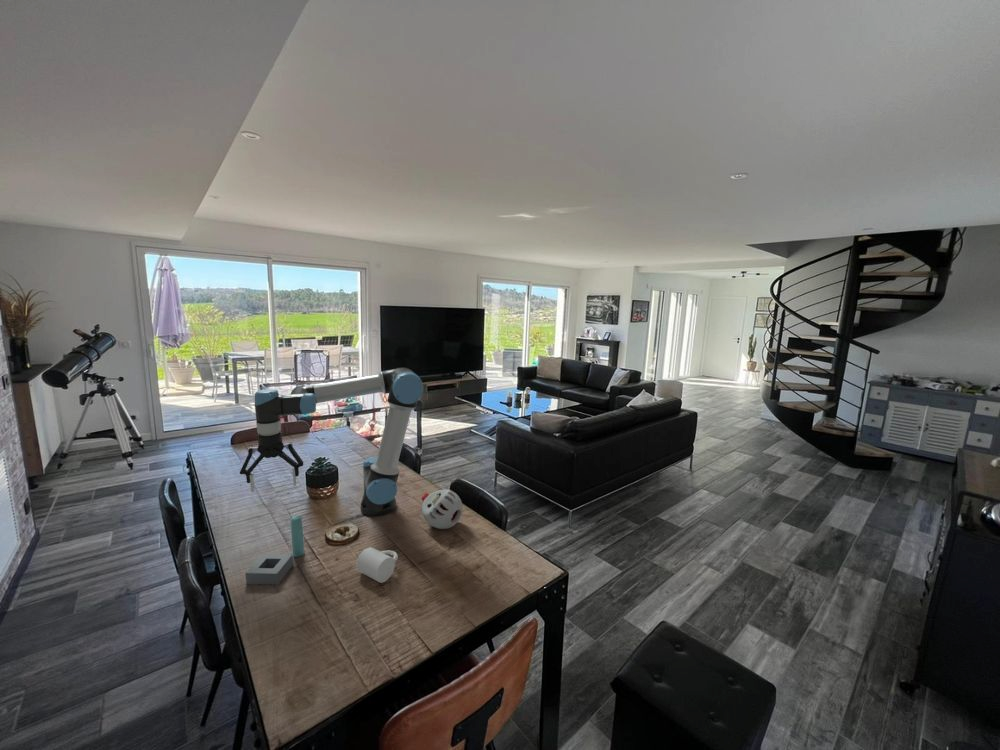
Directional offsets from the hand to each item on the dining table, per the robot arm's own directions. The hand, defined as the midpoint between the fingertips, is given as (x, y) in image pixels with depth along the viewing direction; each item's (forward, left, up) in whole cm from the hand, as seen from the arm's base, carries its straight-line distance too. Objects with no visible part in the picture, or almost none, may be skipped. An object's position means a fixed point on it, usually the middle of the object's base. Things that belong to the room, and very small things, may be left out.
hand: (274, 487), depth 148 cm
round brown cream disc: (-22, -4, -22) cm, 32 cm away
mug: (-43, +17, -22) cm, 51 cm away
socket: (-7, +19, -22) cm, 30 cm away
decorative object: (-59, -13, -22) cm, 65 cm away
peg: (-11, +8, -22) cm, 26 cm away
